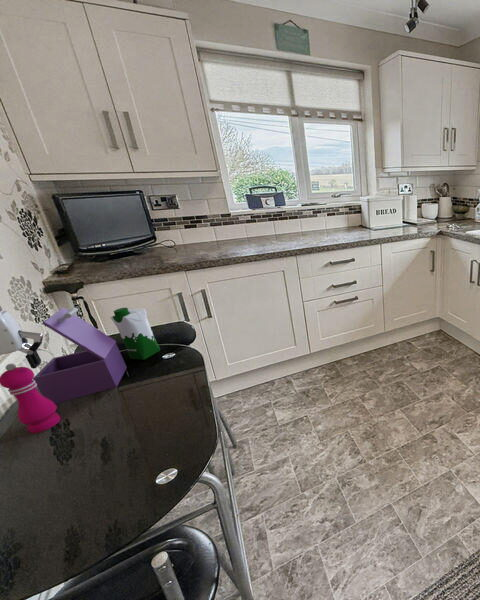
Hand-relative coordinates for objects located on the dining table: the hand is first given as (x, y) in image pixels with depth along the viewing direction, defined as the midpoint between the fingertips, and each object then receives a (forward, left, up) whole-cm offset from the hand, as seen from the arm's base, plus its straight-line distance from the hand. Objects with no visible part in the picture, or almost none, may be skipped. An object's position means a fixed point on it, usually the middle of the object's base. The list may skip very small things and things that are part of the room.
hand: (11, 371), depth 85 cm
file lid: (+9, +19, 0) cm, 21 cm away
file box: (+5, +19, -18) cm, 27 cm away
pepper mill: (0, 0, -18) cm, 18 cm away
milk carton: (+18, +34, -18) cm, 43 cm away
